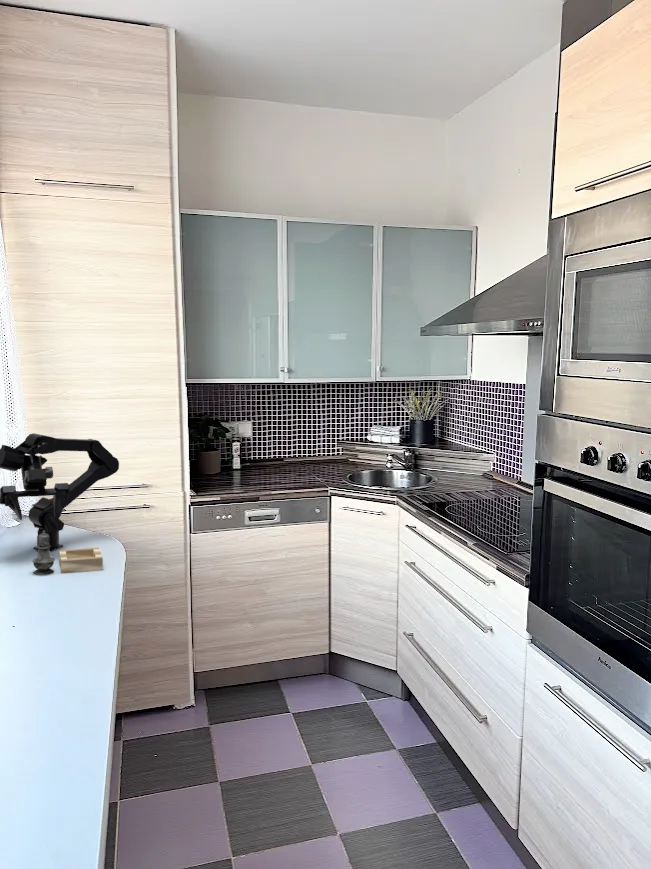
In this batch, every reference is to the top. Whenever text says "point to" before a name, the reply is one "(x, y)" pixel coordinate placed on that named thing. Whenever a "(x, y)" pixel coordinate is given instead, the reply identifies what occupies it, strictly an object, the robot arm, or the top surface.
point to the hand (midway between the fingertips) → (38, 517)
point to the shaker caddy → (80, 560)
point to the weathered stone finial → (43, 556)
